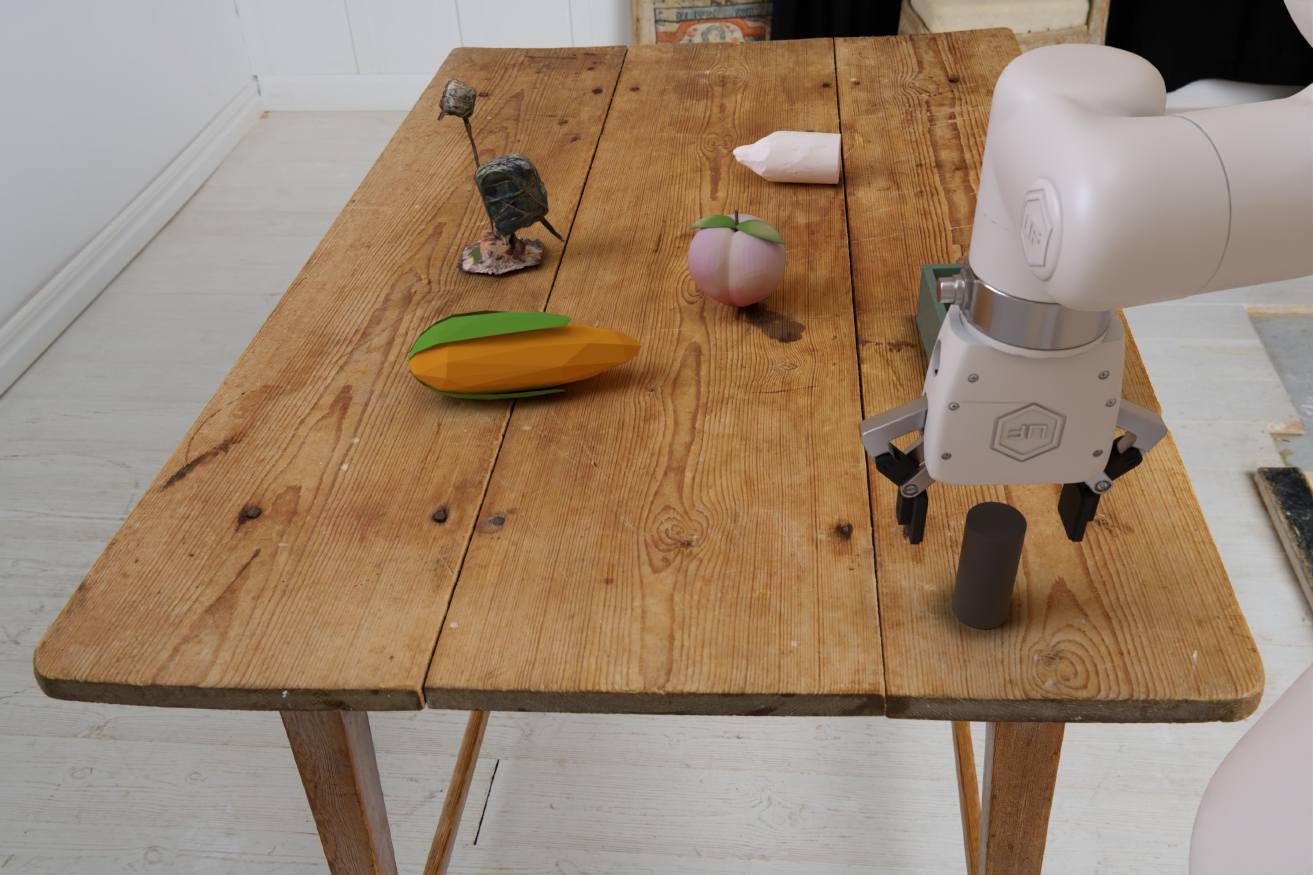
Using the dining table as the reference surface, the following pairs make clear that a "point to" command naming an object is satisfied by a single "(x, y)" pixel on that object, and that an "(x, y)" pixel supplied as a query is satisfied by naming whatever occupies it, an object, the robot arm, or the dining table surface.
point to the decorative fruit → (736, 258)
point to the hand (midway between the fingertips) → (990, 527)
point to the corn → (513, 353)
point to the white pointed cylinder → (794, 157)
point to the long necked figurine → (500, 198)
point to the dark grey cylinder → (988, 564)
